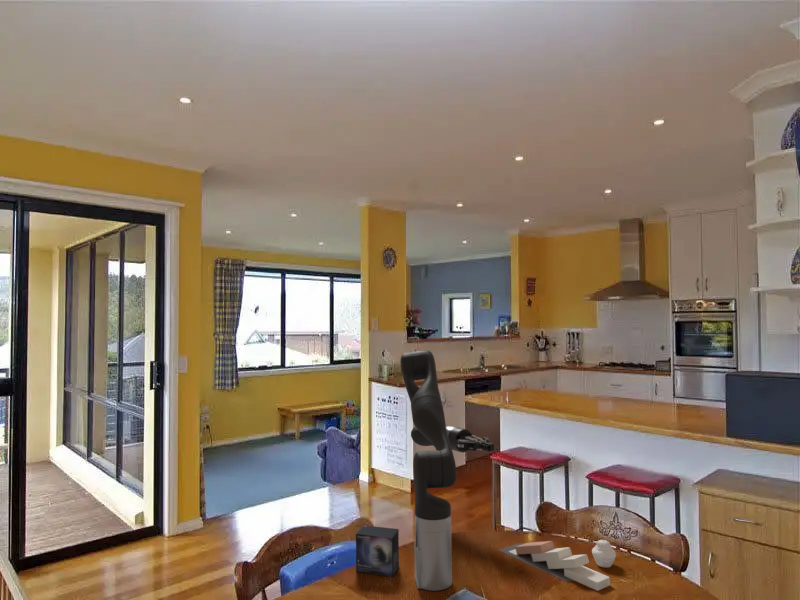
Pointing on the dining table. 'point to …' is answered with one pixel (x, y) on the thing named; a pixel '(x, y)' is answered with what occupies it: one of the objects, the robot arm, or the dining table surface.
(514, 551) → the domino mat
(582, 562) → the ivory domino
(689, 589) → the dining table surface
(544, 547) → the terracotta domino
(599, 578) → the ivory domino
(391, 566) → the small box
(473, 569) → the dining table surface
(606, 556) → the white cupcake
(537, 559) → the ivory domino
